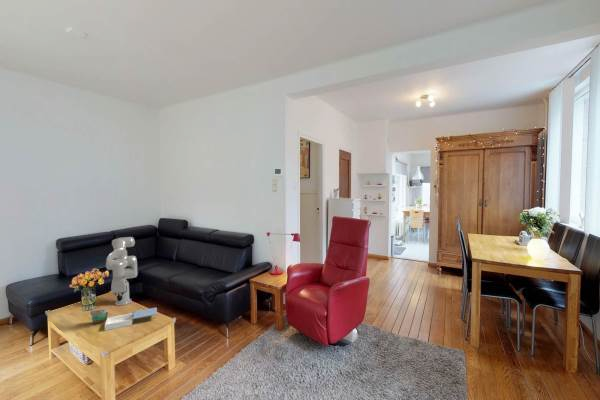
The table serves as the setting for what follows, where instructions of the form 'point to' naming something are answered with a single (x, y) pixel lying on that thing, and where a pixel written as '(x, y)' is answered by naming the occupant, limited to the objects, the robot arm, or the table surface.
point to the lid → (144, 313)
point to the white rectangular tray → (118, 321)
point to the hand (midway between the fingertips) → (119, 300)
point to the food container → (99, 316)
